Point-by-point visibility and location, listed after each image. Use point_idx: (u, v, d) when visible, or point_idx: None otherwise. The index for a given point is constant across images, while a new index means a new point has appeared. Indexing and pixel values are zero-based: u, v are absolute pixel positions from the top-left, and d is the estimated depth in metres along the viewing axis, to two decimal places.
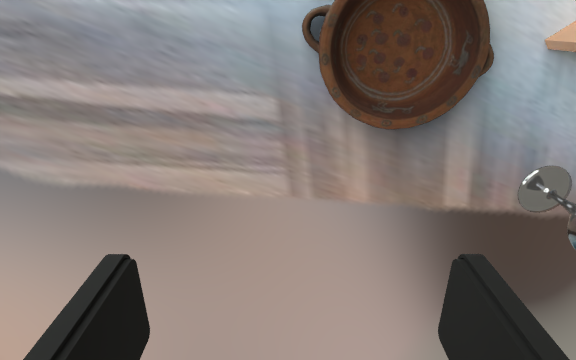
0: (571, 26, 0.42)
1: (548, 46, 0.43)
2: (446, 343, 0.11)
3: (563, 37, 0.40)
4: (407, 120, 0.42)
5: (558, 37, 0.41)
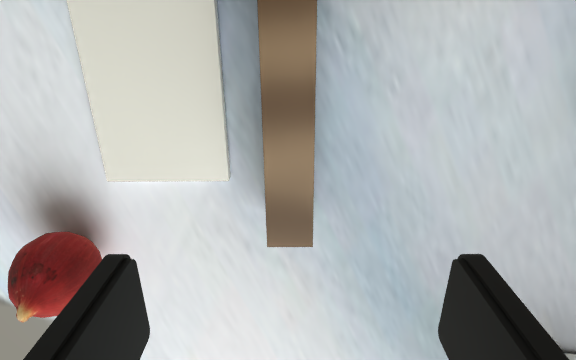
0: None
1: None
2: (446, 343, 0.11)
3: None
4: None
5: None
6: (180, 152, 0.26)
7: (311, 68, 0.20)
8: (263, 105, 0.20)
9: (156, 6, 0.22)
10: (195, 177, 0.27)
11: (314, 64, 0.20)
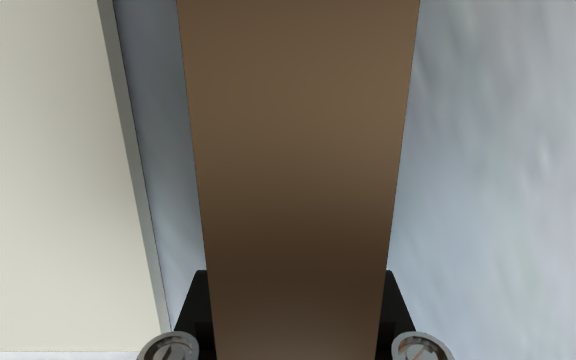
0: None
1: None
2: None
3: None
4: None
5: None
6: (54, 301, 0.12)
7: (383, 174, 0.05)
8: (214, 281, 0.06)
9: None
10: (93, 345, 0.13)
11: (394, 162, 0.05)
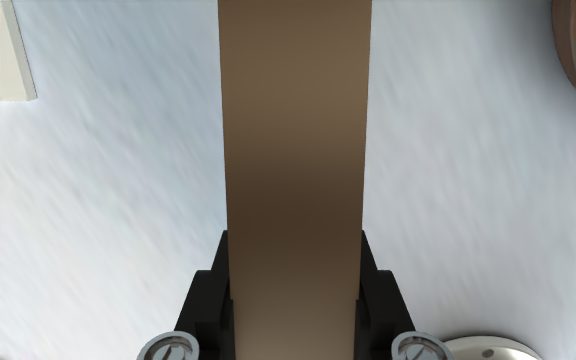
0: None
1: None
2: None
3: None
4: None
5: None
6: None
7: (355, 133, 0.08)
8: (232, 222, 0.08)
9: None
10: None
11: (362, 123, 0.08)
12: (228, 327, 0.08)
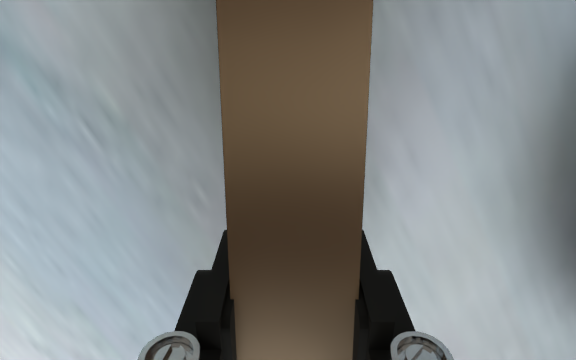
0: None
1: None
2: None
3: None
4: None
5: None
6: None
7: (355, 149, 0.08)
8: (232, 237, 0.08)
9: None
10: None
11: (362, 139, 0.08)
12: (229, 327, 0.08)
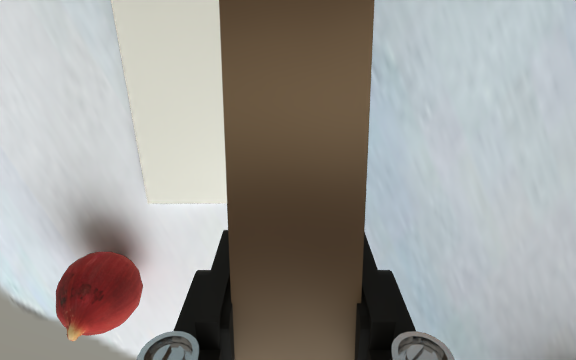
0: None
1: None
2: None
3: None
4: None
5: None
6: (219, 176, 0.27)
7: (357, 147, 0.08)
8: (233, 236, 0.08)
9: (202, 40, 0.23)
10: None
11: (364, 137, 0.08)
12: (228, 327, 0.08)
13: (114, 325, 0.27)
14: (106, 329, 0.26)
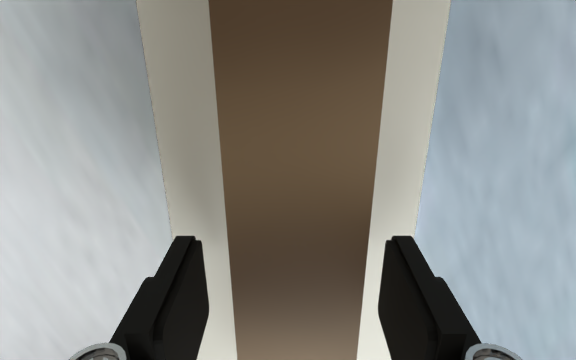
0: None
1: None
2: (382, 318, 0.12)
3: None
4: None
5: None
6: None
7: (362, 196, 0.07)
8: (235, 276, 0.08)
9: None
10: None
11: (370, 188, 0.07)
12: (161, 338, 0.08)
13: None
14: None
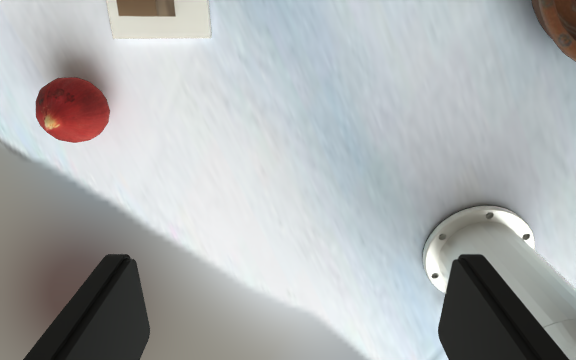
0: None
1: None
2: (446, 343, 0.11)
3: None
4: None
5: None
6: None
7: None
8: None
9: None
10: (183, 34, 0.34)
11: None
12: None
13: (84, 131, 0.32)
14: (77, 132, 0.32)
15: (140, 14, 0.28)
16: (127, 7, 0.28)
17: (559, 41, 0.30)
